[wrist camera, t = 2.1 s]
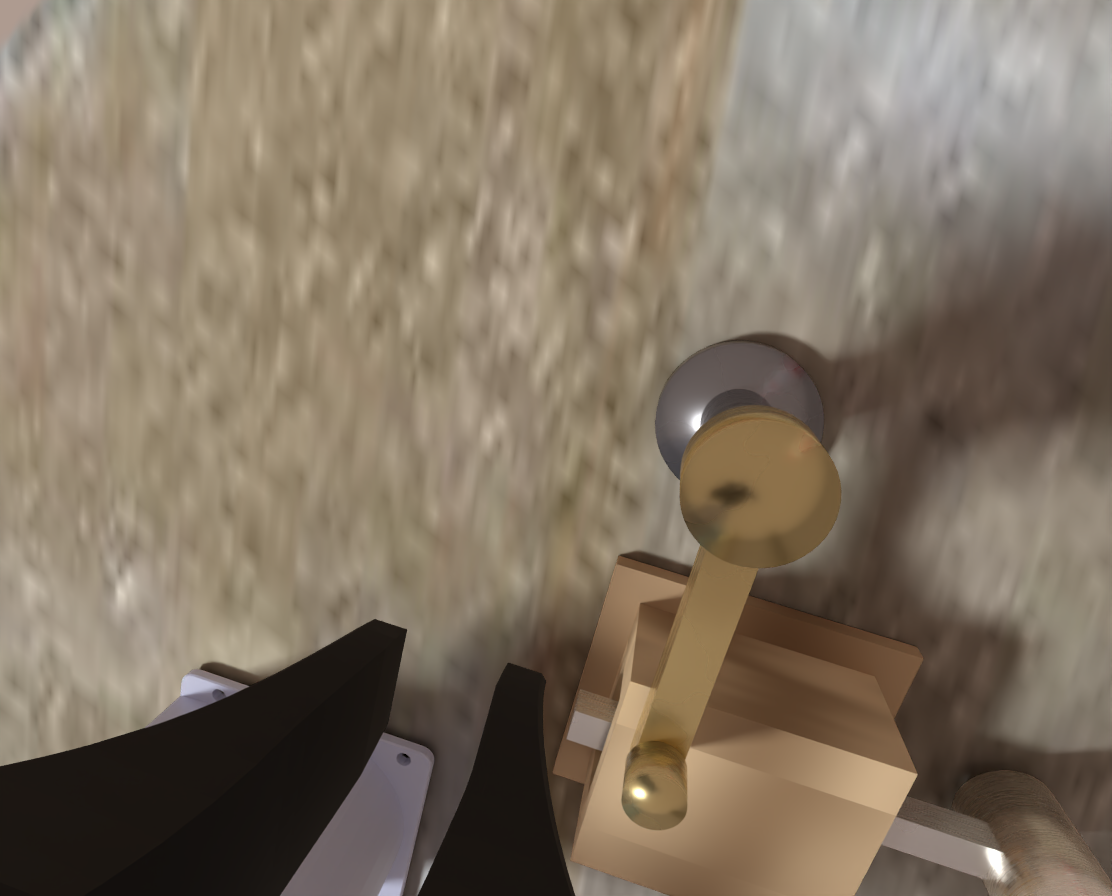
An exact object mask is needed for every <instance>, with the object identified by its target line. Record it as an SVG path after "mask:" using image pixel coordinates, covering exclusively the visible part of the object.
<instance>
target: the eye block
mask: <svg viewBox="0 0 1112 896" xmlns="http://www.w3.org/2000/svg"><path fill="white" fill-rule="evenodd" d="M688 579H689V577H687V576H684V575H681V574H677V573H674V572H671V571H668V570H664V569H661V568H658V567H654V566H651V565H648V564H645V563H641V562H638V561H635V560H632V559H628V558H625V557H622V556H618V559H617V562H616V565H615V569H614V572H613V575H612V578H611V582H610V585H609V588H608V591H607V595H606V598H605V601H604V604H603V608H602V611H601V614H600V617H599V621H598V624H597V627H596V630H595V634H594V637H593V640H592V643H591V647H590V650H589V653H588V656H587V660H586V663H585V666H584V669H583V673H582V676H581V679H580V682H579V686H578V689H577V692H576V695H575V699H574V702H573V705H572V709H571V712H570V715H569V718H568V722H567V725H566V728H565V731H564V735H563V738H562V741H561V744H560V748H559V751H558V754H557V757H556V761H555V765H554V769H553V774H556V775H559V776H562V777H565V778H567V779H570V780H573V781H576V782H579V783H582V784H584V789H583V794H582V800H581V805H580V811H579V816H578V821H577V827H576V832H575V838H574V843H573V848H572V854H571V859H570V861H573V862H576V863H579V864H582V865H584V866H587V867H590V868H593V869H596V870H599V871H601V872H604V873H607V874H610V875H613V876H616V877H618V878H621V879H624V880H627V881H630V882H633V883H635V884H638V885H641V886H644V887H647V888H650V889H652V890H655V891H658V892H661V893H664V894H667V895H669V896H854V895H855V893H856V892H857V890H858V888H859V886H860V884H861V882H862V880H863V878H864V876H865V874H866V872H867V871H868V869H869V867H870V865H871V863H872V861H873V859H874V857H875V855H876V853H877V851H878V850H879V848H880V846H881V844H882V842H883V840H884V838H885V836H886V834H887V832H888V830H889V829H890V827H891V825H892V823H893V821H894V819H895V817H896V815H897V813H898V811H899V809H900V808H901V806H902V804H903V802H904V800H905V798H906V796H907V794H908V792H909V790H910V789H911V787H912V785H913V783H914V781H915V779H916V777H917V775H918V774H917V771H916V769H915V767H914V764H913V762H912V760H911V758H910V755H909V753H908V751H907V749H906V746H905V744H904V742H903V739H902V737H901V735H900V733H899V730H898V728H897V726H896V724H895V721H894V718H895V716H896V714H897V712H898V710H899V708H900V706H901V704H902V702H903V700H904V698H905V696H906V694H907V692H908V690H909V688H910V686H911V684H912V682H913V680H914V678H915V676H916V673H917V671H918V669H919V667H920V665H921V663H922V661H923V659H924V658H923V656H922V655H921V653H920V651H919V650H918V648H917V647H915V646H912V645H909V644H906V643H902V642H899V641H896V640H893V639H889V638H886V637H883V636H879V635H876V634H873V633H870V632H866V631H863V630H860V629H857V628H853V627H850V626H847V625H844V624H840V623H837V622H834V621H831V620H827V619H824V618H821V617H818V616H814V615H811V614H808V613H804V612H801V611H798V610H795V609H791V608H788V607H785V606H782V605H778V604H775V603H772V602H769V601H765V600H762V599H759V598H756V597H752V596H749V595H748V597H747V600H746V603H745V605H744V608H743V610H742V613H741V616H740V618H739V621H738V624H737V626H736V629H735V631H734V634H733V637H732V639H731V642H730V644H729V647H728V650H727V652H726V655H725V657H724V660H723V663H722V665H721V668H720V670H719V673H718V676H717V678H716V681H715V684H714V686H713V689H712V691H711V694H710V697H709V699H708V702H707V704H706V707H705V710H704V712H703V715H702V717H701V720H700V723H699V725H698V728H697V731H696V733H695V736H694V738H693V741H692V744H691V746H690V749H689V751H688V754H687V757H686V759H685V761H686V764H687V813H686V816H685V818H684V819H683V820H682V821H681V822H680V823H679V824H678V825H677V826H675V827H673V828H670V829H667V830H650V829H646V828H643V827H641V826H639V825H637V824H636V823H634V822H633V821H632V820H631V819H630V818H629V817H628V816H627V815H626V813H625V812H624V810H623V807H622V802H621V798H622V789H623V780H624V772H625V763H626V758H627V755H628V753H629V752H630V746H631V743H632V740H633V737H634V734H635V731H636V728H637V725H638V723H639V720H640V717H641V714H642V711H643V708H644V705H645V703H646V700H647V697H648V694H649V691H650V688H651V685H652V682H653V680H654V677H655V674H656V671H657V668H658V665H659V662H660V659H661V657H662V654H663V651H664V648H665V645H666V642H667V639H668V636H669V634H670V631H671V628H672V625H673V622H674V619H675V616H676V613H677V611H678V608H679V605H680V602H681V599H682V596H683V593H684V591H685V588H686V585H687V582H688ZM580 689H582V690H585V691H588V692H591V693H594V694H597V695H600V696H603V697H606V698H609V699H612V700H615V701H618V702H619V703H618V706H617V709H616V712H615V715H614V718H613V721H612V724H611V727H610V730H609V733H608V736H607V739H606V742H605V745H604V748H603V751H600V750H597V749H594V748H591V747H588V746H585V745H582V744H579V743H576V742H573V741H570V740H567V734H568V730H569V726H570V722H571V718H572V714H573V711H574V708H575V704H576V701H577V698H578V695H579V691H580Z"/></svg>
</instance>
